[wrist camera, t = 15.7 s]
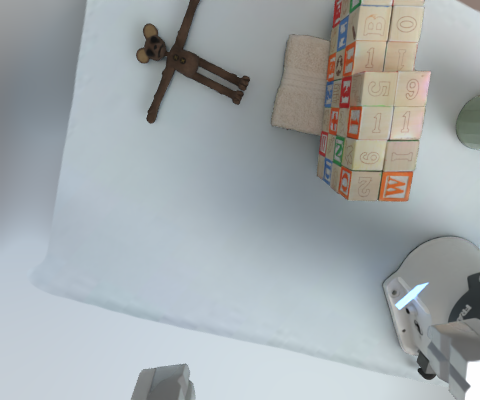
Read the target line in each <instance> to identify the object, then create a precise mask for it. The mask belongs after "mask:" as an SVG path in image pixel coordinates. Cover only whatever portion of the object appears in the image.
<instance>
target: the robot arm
mask: <svg viewBox="0 0 480 400" xmlns="http://www.w3.org/2000/svg"><path fill="white" fill-rule="evenodd" d="M383 288H384V291H385V295H386V298H387V302H388V305H389V309H390V312H391V316H392V319H393V323H394V326H395V330H396V333H397V337H398V340H399V343H400V347H401V349H402V350H403V351H404V352H405V353H408V354H410V355H415V356H418V359H417V363H418V364H419V366H420V367H421V368H419V369H418V372H419V373H420V374H421V375H422V376H423V377H424V378H425V379H427V380H431V379H433V378H434V377H435V376H436V375H437V376H438V377H439V378H440V379H442V380H443V381H445V382H447V383H449V392H450V393H451V394H452V395H453V397H454V398H455V399H456V400H480V250H479V249H478V248H477V247H476V246H475V245H474V244H473V243H471V242H470V241H468V240H466V239H463V238H459V237H440V238H436V239H433V240H430V241H428V242H426V243H424V244H422V245H420V246H419V247H417V248H416V249H415V250H414V251H412V252H411V253H410V254H409V255H408V257H407V258H406V259H405V260H404V262H403V263H402V265H401V267H400V268H399V269H398V270H397V272H395V273H394V274H392V275H391V276H390V277H389V278H387V279H386V280H385V282H384V284H383ZM394 290H395V291H394ZM393 291H394V292H393ZM392 292H393V293H392ZM189 376H190V371H189V368H188V365H187V364H179V365H171V366H164V367H157V368H151V369H143V370H142V371H141V373H140V375H139V377H138V380H137V383H136V386H135V389H134V392H133V395H132V398H131V400H195V390H194V386H193V383H192V382H191V381H190V380H189Z"/></svg>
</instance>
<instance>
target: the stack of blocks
mask: <svg viewBox="0 0 480 400" xmlns="http://www.w3.org/2000/svg"><path fill="white" fill-rule="evenodd" d="M424 3H425V0H335V6H334V17H333V29H332V31H331V41H330V51H329V60H328V70H327V79H326V81H327V85H326V95H325V105H324V106H325V108H324V116H323V126H322V132H321V139H320V149H319V157H318V167H317V176H318V177H319V178H320V179H322V180H324V181H325V182H326V183H327V184H328V185H329V186H330V187H331V188H332V189H333V190H334V191H336V192H337V193H338V194H341V195H342V196H343V197H345V198H346V199H347V200H349V201H377V200H378V201H408V199H409V194H410V188H411V183H412V177H413V171H414V170H415V167H416V162H417V155H418V149H419V139H420V138H421V133H422V127H423V121H424V115H425V105H426V100H427V94H428V88H429V82H430V75H431V71H413V70H414V64H415V58H416V52H417V46H418V42H419V39H420V33H421V27H422V21H423V15H424V9H425V7H424Z"/></svg>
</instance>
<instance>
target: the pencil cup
mask: <svg viewBox="0 0 480 400" xmlns="http://www.w3.org/2000/svg"><path fill="white" fill-rule="evenodd" d="M456 132H457V136H458V138H459V140H460V141H461V143H462V144H463V145H465V146H466V147H468V148H471V149H476V150H480V95H479V96H477V97H475V98H473V99H472V100H470V101H469V102H468V103H467V104H466V105H465V106H464V107H463V109H462V110H461V112H460V114H459V116H458V119H457V123H456Z"/></svg>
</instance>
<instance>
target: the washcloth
mask: <svg viewBox="0 0 480 400" xmlns="http://www.w3.org/2000/svg"><path fill="white" fill-rule="evenodd" d="M329 51H330V41H328V40H324V39H320V38H317V37H312V36H308V35H295V34H292V35H289V39H288V41H287V46H286V52H285V60H284V73H283V75H282V80H281V85H280V87H279V88H278V91H277V94H276V98H275V102H274V108H273V112H272V118H271V125H272V126H278V127H282V128H286V129H287V130H288V129H290V130H291V129H292V130H296V131H298V132H303V133H310V134H314V135H318V136H321V132H322V126H323V116H324V108H325V106H324V105H325V95H326V85H327V81H326V79H327V70H328V60H329ZM413 71H416V70H415V68H414V70H413Z"/></svg>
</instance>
